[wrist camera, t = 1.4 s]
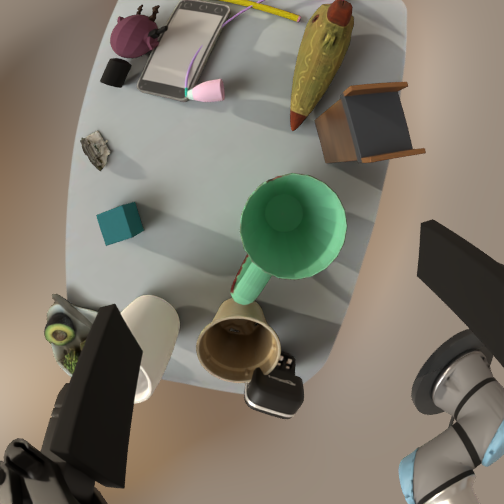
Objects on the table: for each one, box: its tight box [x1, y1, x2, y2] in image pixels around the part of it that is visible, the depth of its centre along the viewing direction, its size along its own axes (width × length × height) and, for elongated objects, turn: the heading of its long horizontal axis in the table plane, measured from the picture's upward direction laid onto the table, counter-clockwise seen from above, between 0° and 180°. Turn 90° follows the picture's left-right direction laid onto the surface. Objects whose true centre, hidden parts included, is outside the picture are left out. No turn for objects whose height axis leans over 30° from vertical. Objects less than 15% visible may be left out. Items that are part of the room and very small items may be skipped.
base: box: [340, 82, 426, 163], centre depth 20 cm, size 6×5×3 cm
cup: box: [121, 295, 180, 403], centre depth 32 cm, size 8×8×14 cm
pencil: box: [220, 0, 301, 22], centre depth 27 cm, size 16×1×1 cm, turn 69°
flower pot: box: [196, 298, 281, 383], centre depth 35 cm, size 9×9×9 cm
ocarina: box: [290, 0, 354, 131], centre depth 25 cm, size 20×5×10 cm, turn 161°
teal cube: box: [96, 202, 144, 246], centre depth 34 cm, size 4×4×4 cm
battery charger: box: [244, 352, 304, 419], centre depth 35 cm, size 7×4×11 cm, turn 67°
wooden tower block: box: [314, 99, 357, 163], centre depth 27 cm, size 6×5×12 cm
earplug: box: [185, 0, 265, 102], centre depth 27 cm, size 13×26×3 cm, turn 119°
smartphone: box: [137, 0, 230, 102], centre depth 29 cm, size 7×1×15 cm
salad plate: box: [44, 294, 98, 377], centre depth 39 cm, size 19×18×5 cm
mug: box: [230, 173, 347, 305], centre depth 31 cm, size 15×10×10 cm
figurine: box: [100, 5, 168, 88], centre depth 26 cm, size 8×8×12 cm
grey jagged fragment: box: [80, 130, 110, 171], centre depth 32 cm, size 6×2×3 cm
